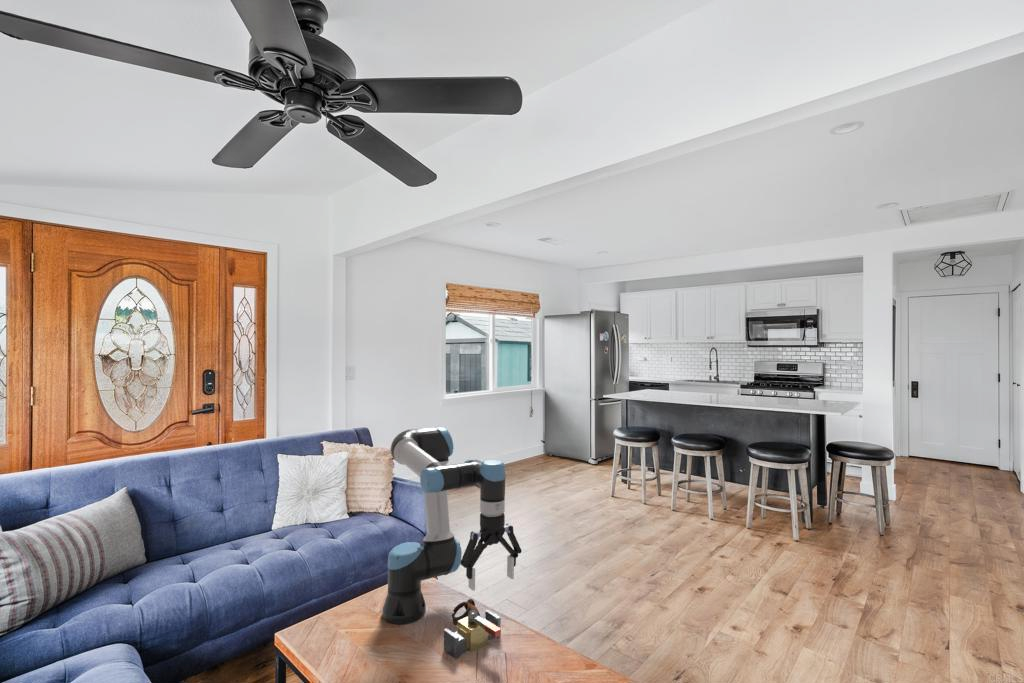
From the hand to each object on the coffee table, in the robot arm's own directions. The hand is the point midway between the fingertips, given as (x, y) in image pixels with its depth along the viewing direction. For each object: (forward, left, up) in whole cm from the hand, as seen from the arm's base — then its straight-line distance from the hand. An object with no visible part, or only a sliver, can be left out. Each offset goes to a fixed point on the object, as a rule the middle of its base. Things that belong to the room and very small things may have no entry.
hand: (491, 582), depth 150 cm
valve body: (-11, +1, -24) cm, 26 cm away
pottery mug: (-22, +7, -24) cm, 33 cm away
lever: (-5, +1, -16) cm, 17 cm away
